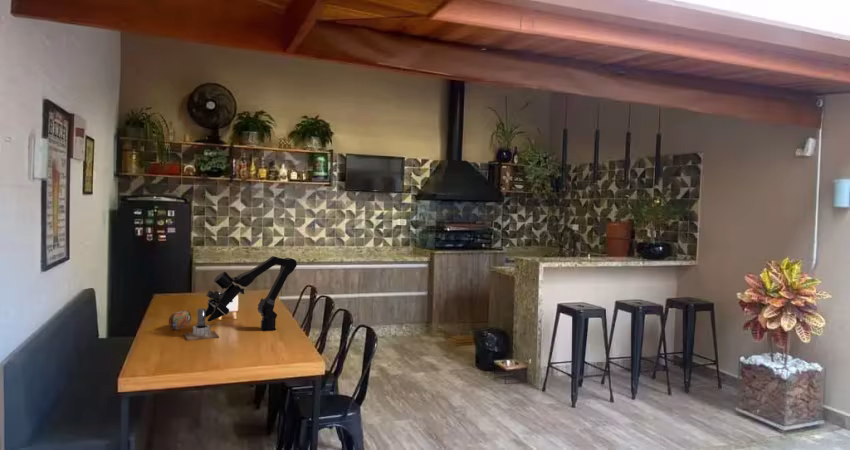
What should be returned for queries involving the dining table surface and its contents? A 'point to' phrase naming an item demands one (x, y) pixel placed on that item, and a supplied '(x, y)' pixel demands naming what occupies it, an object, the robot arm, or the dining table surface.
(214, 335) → the bracket plate
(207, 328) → the ring
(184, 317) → the tin
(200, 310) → the rail post
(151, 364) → the dining table surface
